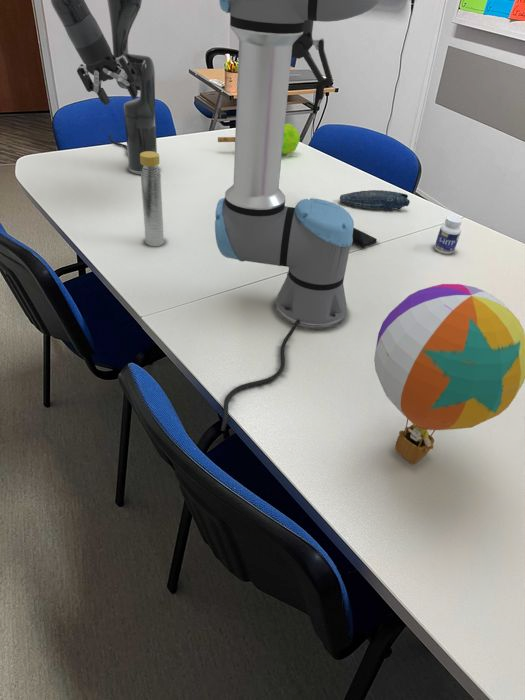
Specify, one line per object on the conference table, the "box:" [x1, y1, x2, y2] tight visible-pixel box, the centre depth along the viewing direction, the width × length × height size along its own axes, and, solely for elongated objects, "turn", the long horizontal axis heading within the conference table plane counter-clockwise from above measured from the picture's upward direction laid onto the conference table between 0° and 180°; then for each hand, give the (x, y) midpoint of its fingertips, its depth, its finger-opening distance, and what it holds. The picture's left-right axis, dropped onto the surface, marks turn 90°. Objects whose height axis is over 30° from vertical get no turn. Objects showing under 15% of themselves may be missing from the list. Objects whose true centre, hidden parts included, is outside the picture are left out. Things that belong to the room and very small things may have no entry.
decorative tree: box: [217, 123, 301, 155], centre depth 187 cm, size 18×10×30 cm
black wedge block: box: [352, 227, 378, 249], centre depth 139 cm, size 12×7×10 cm
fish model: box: [339, 189, 411, 211], centre depth 158 cm, size 7×21×5 cm, turn 84°
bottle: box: [140, 166, 165, 247], centre depth 125 cm, size 4×4×22 cm
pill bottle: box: [434, 215, 463, 255], centre depth 137 cm, size 5×5×9 cm
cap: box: [140, 151, 160, 166], centre depth 119 cm, size 4×4×2 cm
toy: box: [373, 283, 525, 466], centre depth 73 cm, size 20×20×30 cm
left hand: (121, 100), depth 137 cm, fingers open, 8 cm apart
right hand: (288, 109), depth 135 cm, fingers open, 13 cm apart
